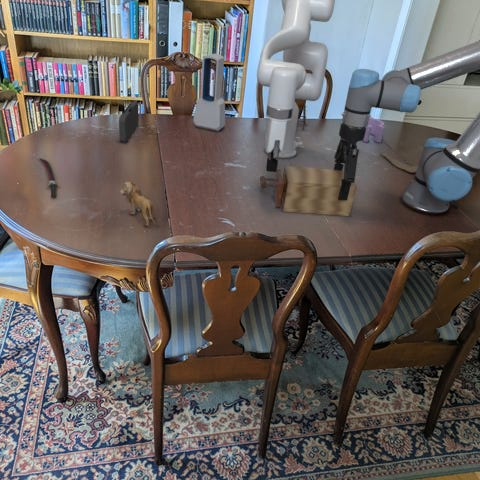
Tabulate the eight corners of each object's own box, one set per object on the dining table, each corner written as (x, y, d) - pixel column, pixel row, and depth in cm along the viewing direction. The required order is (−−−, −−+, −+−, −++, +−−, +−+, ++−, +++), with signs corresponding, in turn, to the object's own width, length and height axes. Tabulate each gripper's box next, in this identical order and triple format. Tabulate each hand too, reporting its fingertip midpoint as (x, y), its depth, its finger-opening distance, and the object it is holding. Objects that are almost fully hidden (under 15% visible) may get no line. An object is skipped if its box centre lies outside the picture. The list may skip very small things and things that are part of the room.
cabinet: (283, 211, 147) (288, 181, 141) (280, 194, 156) (284, 165, 151) (349, 216, 148) (356, 186, 143) (342, 199, 158) (349, 170, 152)
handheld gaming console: (132, 123, 200) (131, 100, 194) (138, 124, 200) (138, 100, 194) (118, 143, 180) (117, 117, 175) (125, 143, 180) (124, 118, 175)
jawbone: (419, 178, 180) (420, 173, 178) (370, 161, 190) (371, 157, 189) (428, 170, 185) (429, 165, 184) (380, 154, 196) (381, 150, 195)
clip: (343, 126, 223) (346, 112, 219) (367, 127, 225) (371, 113, 221) (360, 142, 206) (364, 127, 202) (386, 142, 209) (390, 127, 205)
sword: (61, 197, 141) (61, 193, 140) (50, 198, 139) (50, 194, 139) (49, 160, 164) (48, 156, 163) (39, 160, 163) (39, 157, 162)
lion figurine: (118, 210, 138) (116, 182, 133) (132, 204, 141) (131, 177, 137) (151, 229, 130) (150, 201, 126) (165, 223, 134) (165, 195, 129)
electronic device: (225, 127, 206) (230, 56, 190) (219, 132, 200) (224, 59, 184) (199, 122, 209) (202, 51, 193) (192, 127, 203) (195, 54, 187)
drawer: (258, 205, 146) (262, 181, 142) (257, 191, 155) (260, 167, 150) (337, 211, 148) (343, 187, 143) (331, 196, 156) (336, 173, 152)
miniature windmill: (304, 130, 212) (315, 61, 196) (285, 127, 213) (296, 59, 197) (305, 124, 220) (317, 57, 204) (288, 121, 221) (298, 55, 205)
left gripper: (264, 104, 141) (257, 160, 151) (268, 119, 129) (260, 179, 138) (289, 106, 142) (280, 162, 152) (295, 121, 129) (285, 181, 139)
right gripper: (334, 111, 147) (321, 174, 159) (350, 138, 128) (334, 207, 139) (357, 113, 148) (342, 175, 160) (376, 140, 128) (358, 209, 140)
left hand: (271, 170), depth 145 cm, fingers closed
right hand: (338, 190), depth 150 cm, fingers closed on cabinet, 11 cm apart
